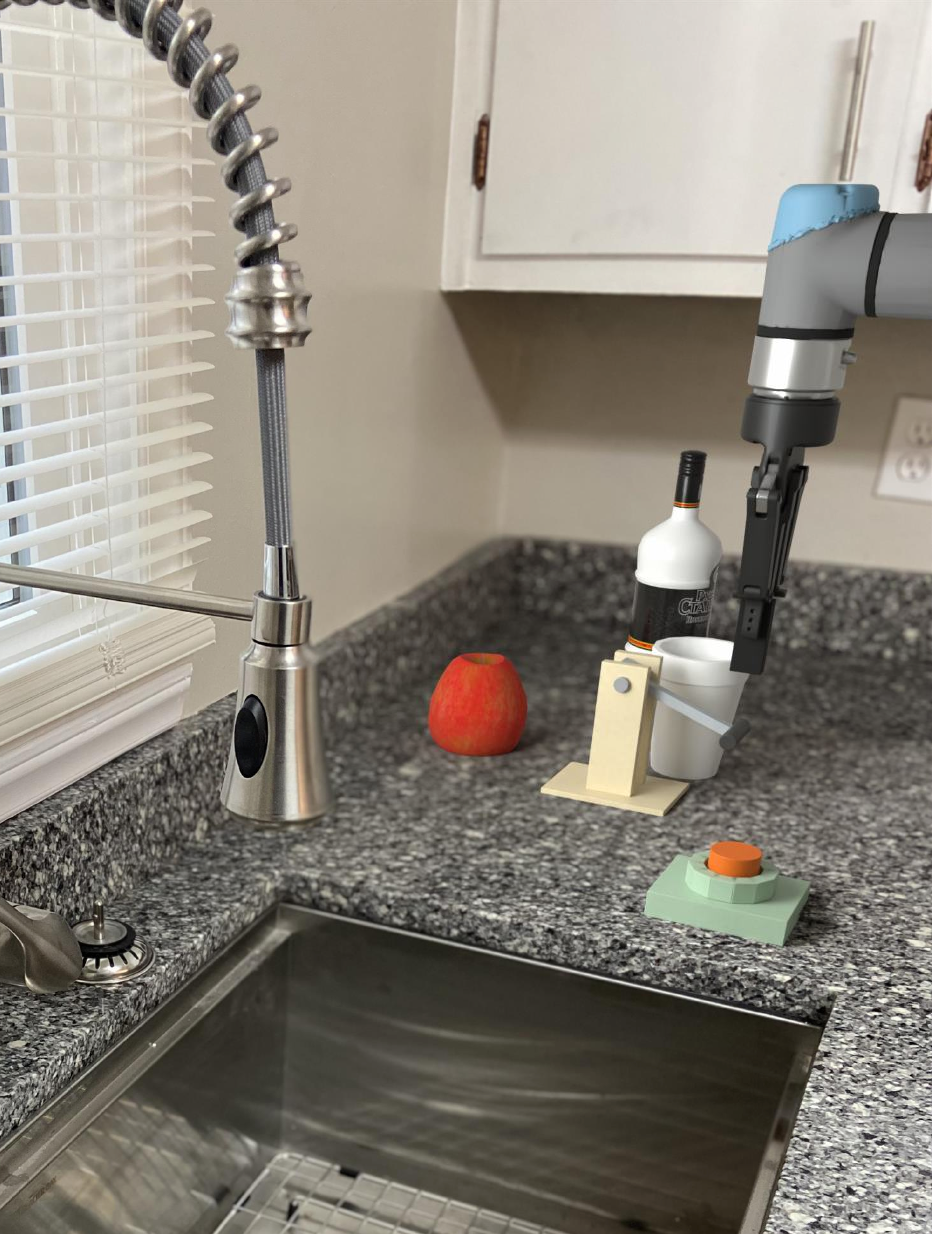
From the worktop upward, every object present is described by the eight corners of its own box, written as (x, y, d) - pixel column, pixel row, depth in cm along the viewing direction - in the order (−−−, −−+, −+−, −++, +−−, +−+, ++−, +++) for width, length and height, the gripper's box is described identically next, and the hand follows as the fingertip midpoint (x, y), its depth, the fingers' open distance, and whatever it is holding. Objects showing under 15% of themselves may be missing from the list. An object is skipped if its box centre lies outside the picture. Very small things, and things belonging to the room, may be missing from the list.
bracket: (687, 794, 146) (709, 657, 140) (661, 823, 139) (683, 680, 133) (570, 772, 152) (586, 639, 146) (539, 799, 145) (555, 660, 139)
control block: (806, 905, 123) (815, 861, 121) (782, 947, 116) (791, 900, 114) (674, 877, 128) (681, 834, 126) (643, 915, 121) (650, 870, 119)
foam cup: (743, 791, 147) (766, 662, 141) (649, 790, 147) (669, 662, 141) (713, 759, 156) (734, 636, 150) (625, 758, 156) (643, 636, 150)
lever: (743, 741, 140) (756, 719, 138) (728, 757, 135) (742, 735, 134) (620, 674, 143) (631, 652, 142) (602, 688, 139) (614, 666, 138)
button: (763, 867, 121) (767, 847, 120) (752, 884, 118) (755, 864, 117) (714, 857, 123) (717, 837, 122) (701, 873, 120) (704, 853, 119)
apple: (498, 731, 164) (507, 637, 159) (540, 761, 155) (551, 662, 150) (412, 738, 161) (418, 642, 156) (449, 769, 152) (457, 669, 148)
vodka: (628, 719, 168) (666, 441, 154) (709, 735, 163) (756, 449, 149) (595, 740, 161) (632, 451, 147) (678, 757, 156) (724, 460, 142)
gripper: (827, 403, 116) (773, 695, 127) (855, 388, 126) (804, 660, 137) (729, 397, 120) (685, 682, 130) (764, 383, 130) (721, 648, 140)
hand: (746, 670), depth 134 cm, fingers closed
